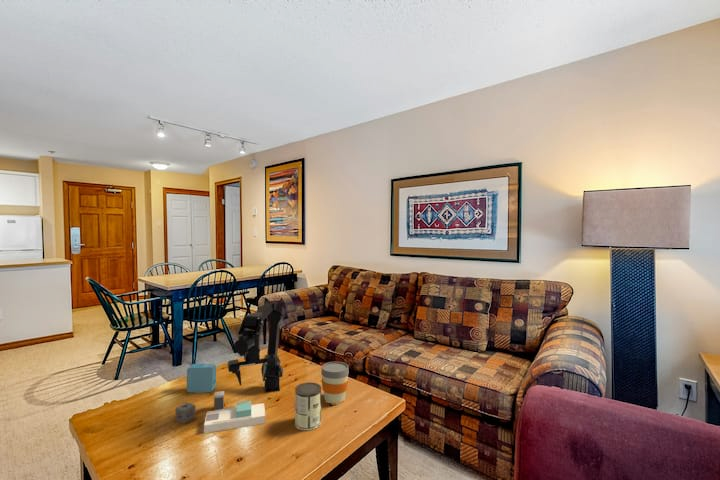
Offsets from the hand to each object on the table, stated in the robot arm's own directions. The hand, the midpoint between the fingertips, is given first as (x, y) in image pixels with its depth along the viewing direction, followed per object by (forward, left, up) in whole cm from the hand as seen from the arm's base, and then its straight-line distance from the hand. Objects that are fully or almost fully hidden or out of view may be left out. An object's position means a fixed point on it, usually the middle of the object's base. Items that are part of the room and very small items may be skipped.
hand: (252, 383), depth 137 cm
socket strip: (+6, +4, -13) cm, 15 cm away
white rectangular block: (+13, -8, -13) cm, 20 cm away
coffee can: (-21, +14, -13) cm, 28 cm away
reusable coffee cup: (-36, -1, -13) cm, 38 cm away
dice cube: (+25, -4, -13) cm, 29 cm away
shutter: (+3, +4, -10) cm, 11 cm away
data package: (+22, -28, -13) cm, 38 cm away
